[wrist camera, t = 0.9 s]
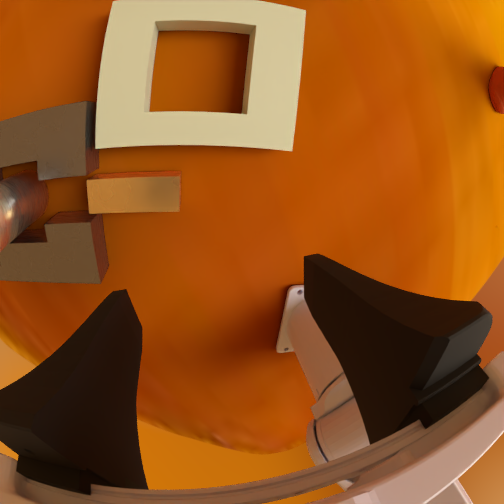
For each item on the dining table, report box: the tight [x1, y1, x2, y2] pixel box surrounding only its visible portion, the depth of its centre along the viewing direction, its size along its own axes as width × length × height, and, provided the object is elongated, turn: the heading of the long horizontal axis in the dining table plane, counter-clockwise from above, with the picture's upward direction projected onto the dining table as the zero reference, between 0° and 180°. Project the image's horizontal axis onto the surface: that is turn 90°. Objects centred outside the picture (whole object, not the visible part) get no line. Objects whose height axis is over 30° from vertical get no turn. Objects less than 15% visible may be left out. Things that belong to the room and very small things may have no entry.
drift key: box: [87, 171, 181, 214], centre depth 16 cm, size 6×2×2 cm, turn 84°
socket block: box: [0, 101, 109, 284], centre depth 14 cm, size 12×12×2 cm
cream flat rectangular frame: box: [95, 0, 306, 151], centre depth 13 cm, size 12×10×2 cm
